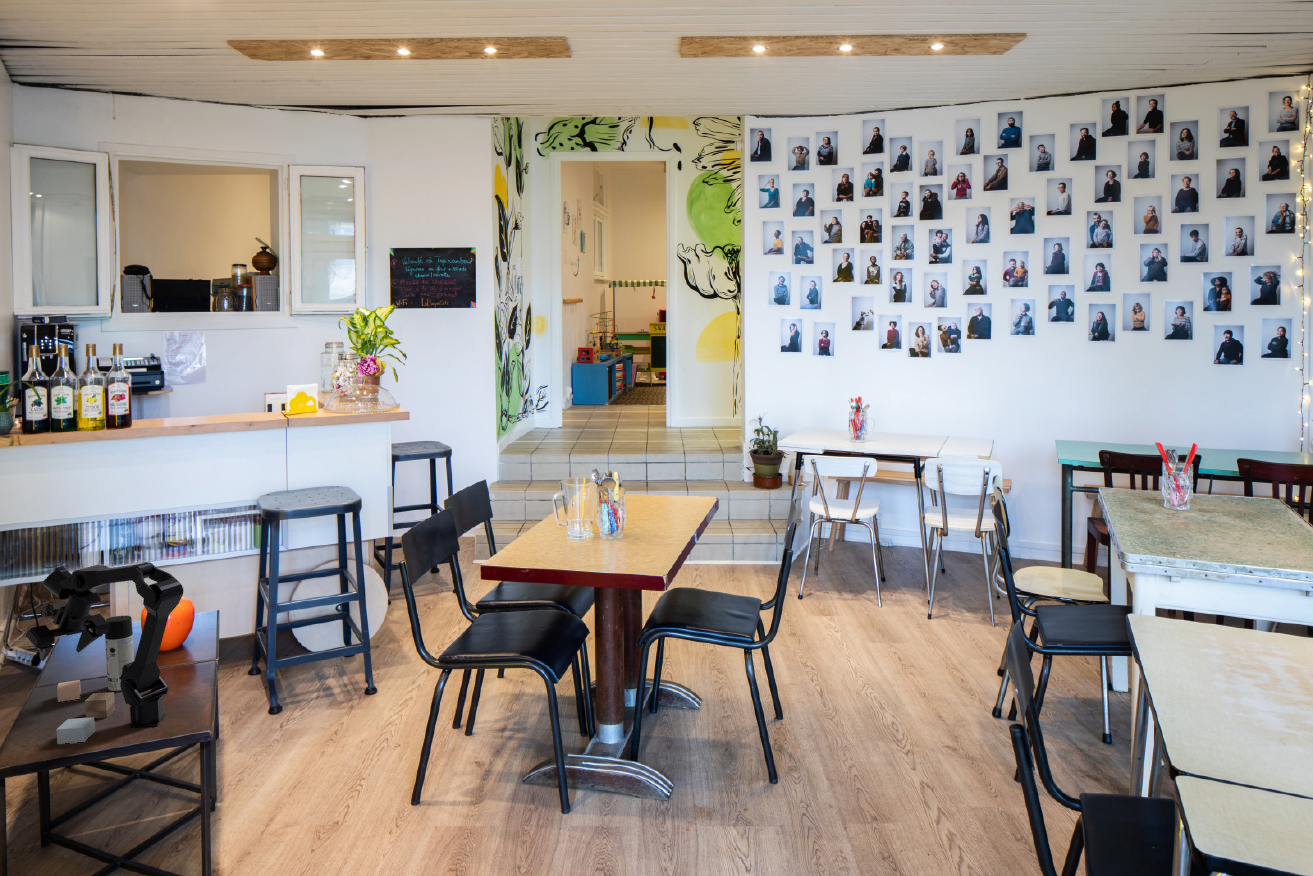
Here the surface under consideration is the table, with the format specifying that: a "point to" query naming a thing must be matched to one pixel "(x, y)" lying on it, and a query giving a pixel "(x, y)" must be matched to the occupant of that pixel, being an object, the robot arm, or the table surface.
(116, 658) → the spray can
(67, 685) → the terracotta block
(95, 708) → the walnut cube
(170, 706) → the table surface
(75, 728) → the slate block
